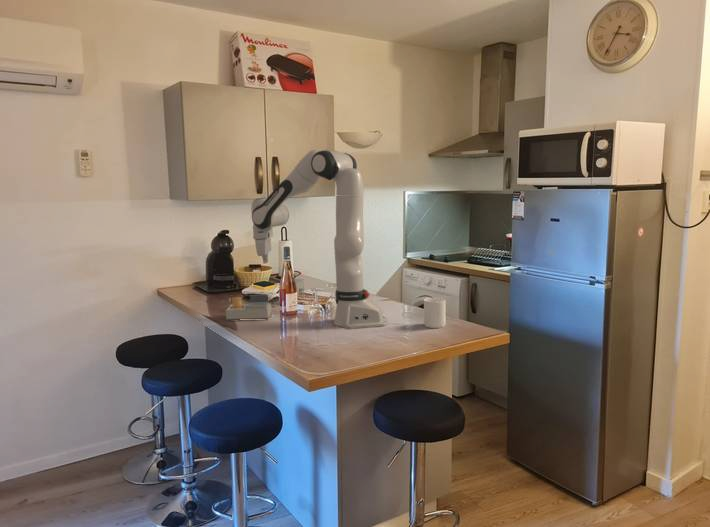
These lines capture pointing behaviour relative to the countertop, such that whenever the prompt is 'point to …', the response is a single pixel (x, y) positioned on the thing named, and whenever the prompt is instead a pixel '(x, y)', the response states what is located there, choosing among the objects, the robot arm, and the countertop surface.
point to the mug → (434, 312)
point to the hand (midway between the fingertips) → (265, 263)
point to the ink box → (300, 285)
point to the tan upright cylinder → (237, 302)
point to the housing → (248, 312)
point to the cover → (258, 300)
